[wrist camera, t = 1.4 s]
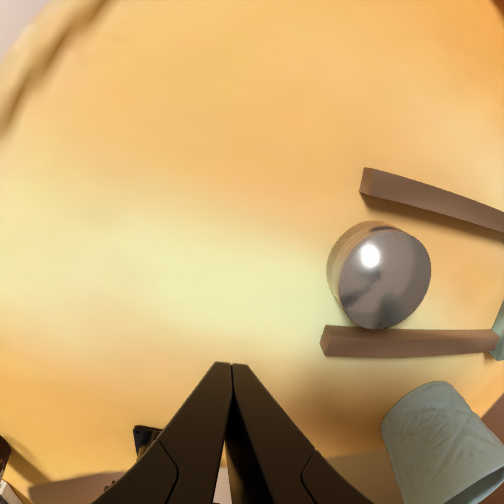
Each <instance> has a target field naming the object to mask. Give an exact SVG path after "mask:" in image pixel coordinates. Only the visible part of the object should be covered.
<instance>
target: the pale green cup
mask: <svg viewBox="0 0 504 504" xmlns="http://www.w3.org/2000/svg"><path fill="white" fill-rule="evenodd" d="M381 435H382V438H383V441H384V444H385V447H386V450H387V452H388V454H389V457H390V460H391V466H392V469H393V471H394V473H395V478H396V481H397V483H398V486H399V487H400V489H401V496H402V498H403V500H404V504H477V503H479V502H480V501H482V500H483V499H484V498H485V497H487V496H488V495H489V494H490V493H491V492H493V491H494V490H495V489H496V488H497V487H498V486H499V485H501V483H502V482H503V481H504V445H503V444H502V443H501V441H500V440H499V439H498V438H497V437H496V436H495V435H494V434H493V433H492V432H491V431H490V430H489V429H488V428H487V427H486V426H485V424H484V423H483V422H482V421H481V419H480V417H479V416H478V415H477V414H476V413H474V412H473V411H472V410H471V408H470V407H469V406H468V404H467V403H466V401H465V400H464V398H463V397H462V396H461V395H460V394H459V393H458V392H457V391H456V390H455V388H454V387H453V386H452V385H450V384H449V383H447V382H444V381H435V382H430V383H427V384H424V385H422V386H420V387H418V388H416V389H415V390H413V391H411V392H410V393H408V394H407V395H405V396H404V397H403V398H402V399H400V400H399V401H398V402H397V403H396V404H395V405H394V406H393V407H392V408H391V409H390V410H389V412H388V413H387V414H386V416H385V417H384V419H383V422H382V424H381Z"/></svg>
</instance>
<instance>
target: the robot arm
mask: <svg viewBox="0 0 504 504" xmlns="http://www.w3.org/2000/svg"><path fill="white" fill-rule="evenodd" d="M133 434H134V441H135V447H136V452H137V461H136V463H135V464H134V465H133V466H132V467H131V468H130V469H129V470H128V471H127V472H126V473H125V474H124V475H123V476H122V477H121V478H120V479H119V480H117V481H114V480H113V482H112V485H111V486H106V487H105V490H104V492H103V493H102V494H101V495H100V496H99V497H98V498H96V499H95V500H94V501H93V502H92V503H90V504H219V503H213V498H214V493H215V488H216V482H217V478H218V472H219V467H220V462H221V456H222V451H223V446H224V441H225V449H226V458H227V467H228V475H229V483H230V491H231V499H232V504H374V503H373V502H372V501H371V500H369V499H368V498H367V497H366V496H364V495H363V494H362V493H360V492H359V491H358V490H357V489H356V488H355V487H353V486H352V485H351V484H350V483H349V482H348V481H347V480H346V479H344V478H343V477H342V476H341V475H340V474H339V473H338V472H337V471H336V470H335V469H334V468H333V467H332V466H331V465H330V464H329V463H328V462H327V461H326V459H325V458H324V457H323V456H322V455H321V454H320V453H319V452H318V450H315V447H314V446H313V445H312V444H311V443H310V441H309V440H308V439H307V438H306V437H305V436H304V434H303V433H302V432H301V431H300V430H299V428H298V427H297V426H296V425H295V424H294V422H293V421H292V420H291V419H290V418H289V416H288V415H287V414H286V413H285V412H284V410H283V409H282V408H281V407H280V405H279V404H278V403H277V402H276V401H275V399H274V398H273V397H272V396H271V394H270V393H269V392H268V390H267V389H266V388H265V387H264V385H263V384H262V383H261V382H260V380H259V379H258V378H257V376H256V375H255V374H254V373H253V371H252V370H251V369H250V367H249V366H248V365H246V364H237V363H233V364H232V365H231V364H230V363H227V362H218V361H216V362H214V363H213V365H212V366H211V367H210V369H209V370H208V371H207V373H206V374H205V376H204V377H203V378H202V380H201V381H200V382H199V384H198V385H197V386H196V387H195V389H194V390H193V391H192V393H191V394H190V395H189V397H188V398H187V399H186V401H185V402H184V403H183V405H182V406H181V407H180V409H179V410H178V411H177V412H176V414H175V415H174V416H173V418H172V419H171V420H170V422H169V423H168V424H167V425H166V427H165V428H164V429H163V430H160V429H154V428H149V427H143V426H134V429H133Z"/></svg>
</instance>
